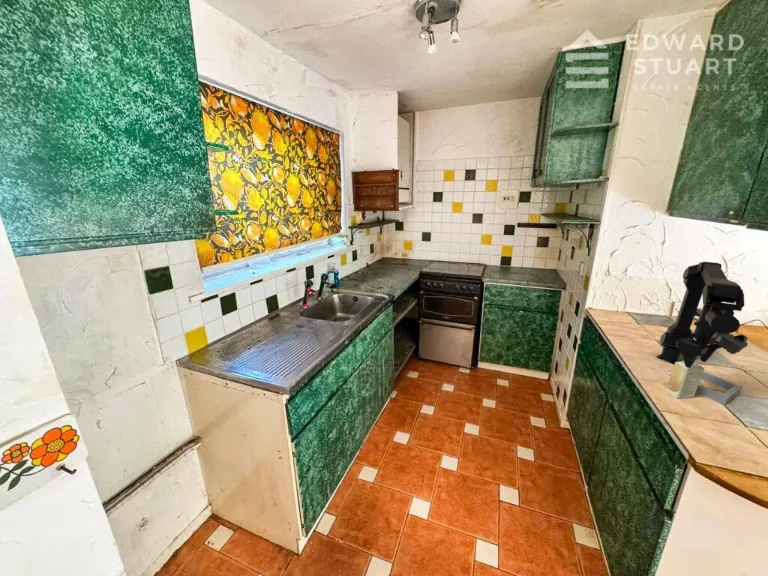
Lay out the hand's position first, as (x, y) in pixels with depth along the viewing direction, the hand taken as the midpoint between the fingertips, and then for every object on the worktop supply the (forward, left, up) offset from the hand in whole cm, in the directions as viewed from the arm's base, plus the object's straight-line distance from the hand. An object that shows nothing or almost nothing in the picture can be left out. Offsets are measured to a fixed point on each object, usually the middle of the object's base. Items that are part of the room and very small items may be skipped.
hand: (695, 364), depth 100 cm
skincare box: (0, -1, -13) cm, 13 cm away
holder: (-13, +2, -13) cm, 19 cm away
